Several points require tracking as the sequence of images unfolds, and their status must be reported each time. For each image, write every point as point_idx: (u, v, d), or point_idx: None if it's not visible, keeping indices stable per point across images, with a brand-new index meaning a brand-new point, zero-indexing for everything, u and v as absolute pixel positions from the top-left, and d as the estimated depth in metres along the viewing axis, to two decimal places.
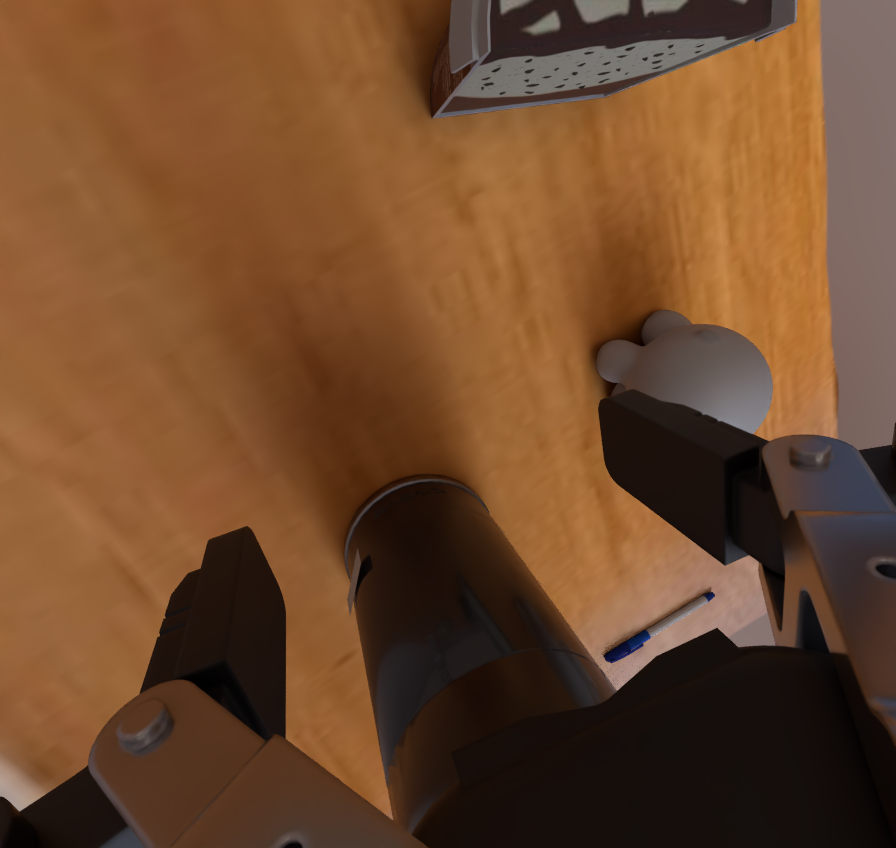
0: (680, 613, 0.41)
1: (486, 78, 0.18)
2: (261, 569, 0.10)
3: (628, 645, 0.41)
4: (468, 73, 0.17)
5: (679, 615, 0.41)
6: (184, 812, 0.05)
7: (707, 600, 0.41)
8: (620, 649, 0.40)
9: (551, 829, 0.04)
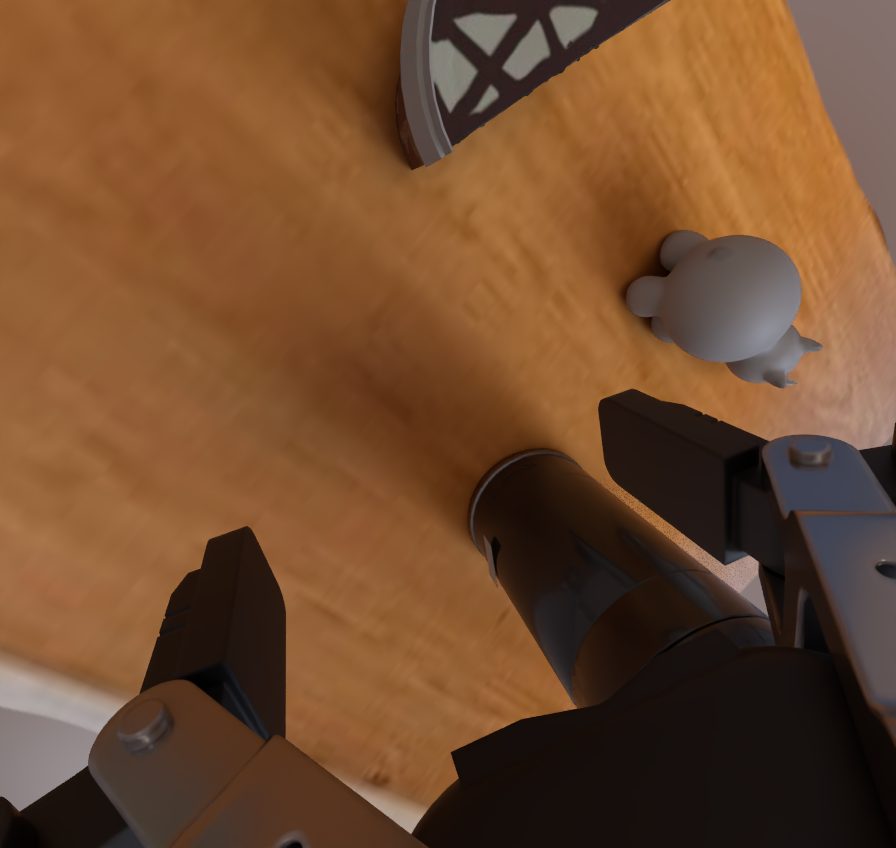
0: None
1: None
2: (261, 569, 0.10)
3: None
4: None
5: None
6: (184, 812, 0.05)
7: None
8: None
9: (551, 829, 0.04)
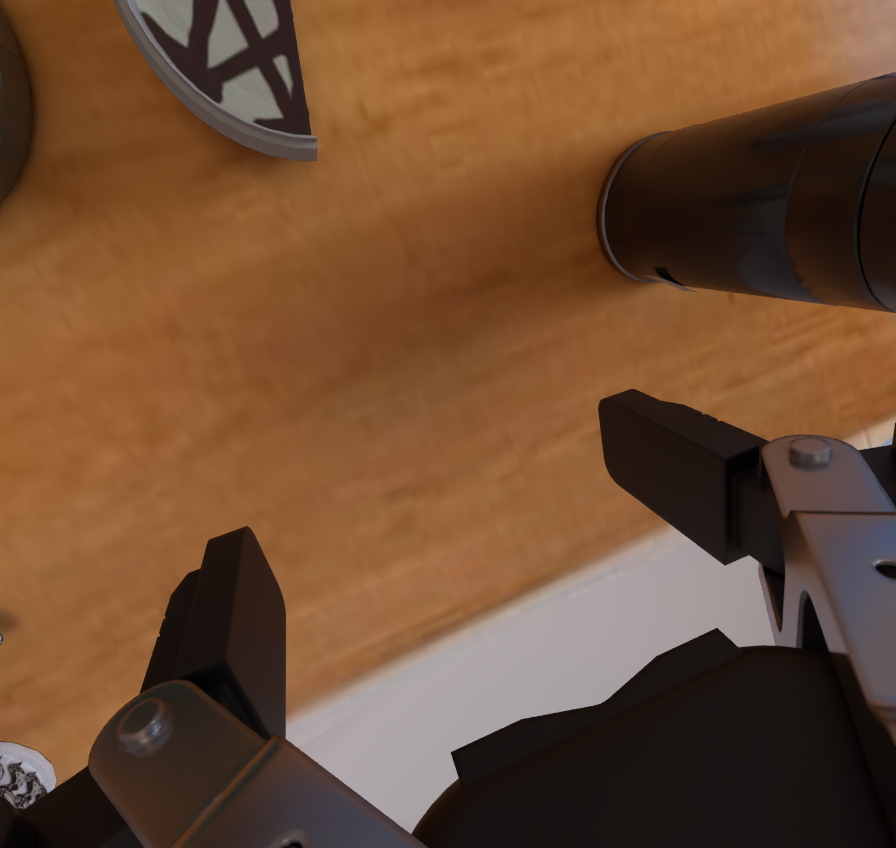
0: None
1: None
2: (261, 569, 0.10)
3: None
4: None
5: None
6: (184, 812, 0.05)
7: None
8: None
9: (551, 829, 0.04)
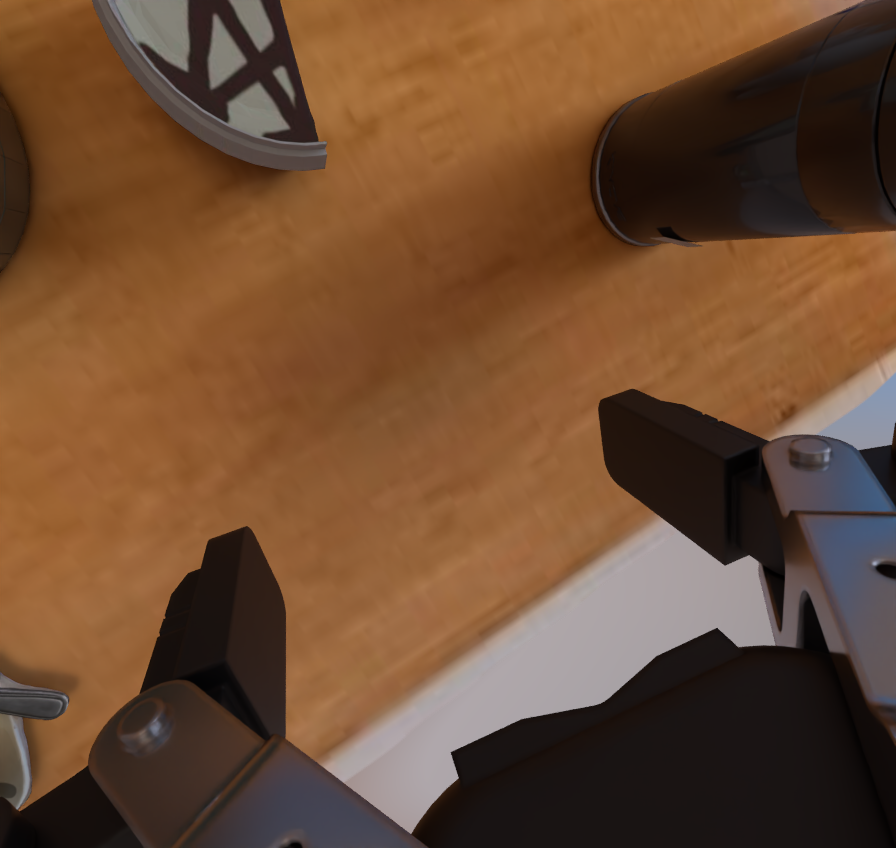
0: None
1: None
2: (261, 569, 0.10)
3: None
4: None
5: None
6: (184, 812, 0.05)
7: None
8: None
9: (551, 829, 0.04)
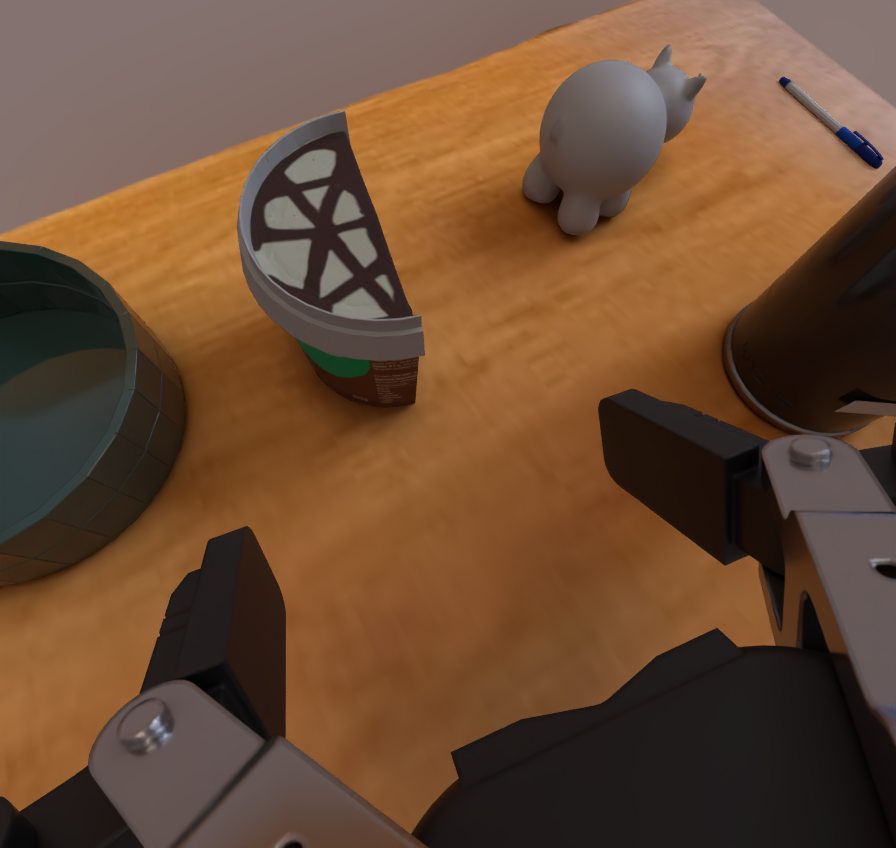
0: (810, 104, 0.39)
1: None
2: (261, 569, 0.10)
3: (857, 146, 0.38)
4: None
5: (812, 104, 0.39)
6: (184, 812, 0.05)
7: (790, 82, 0.40)
8: (864, 153, 0.38)
9: (551, 829, 0.04)
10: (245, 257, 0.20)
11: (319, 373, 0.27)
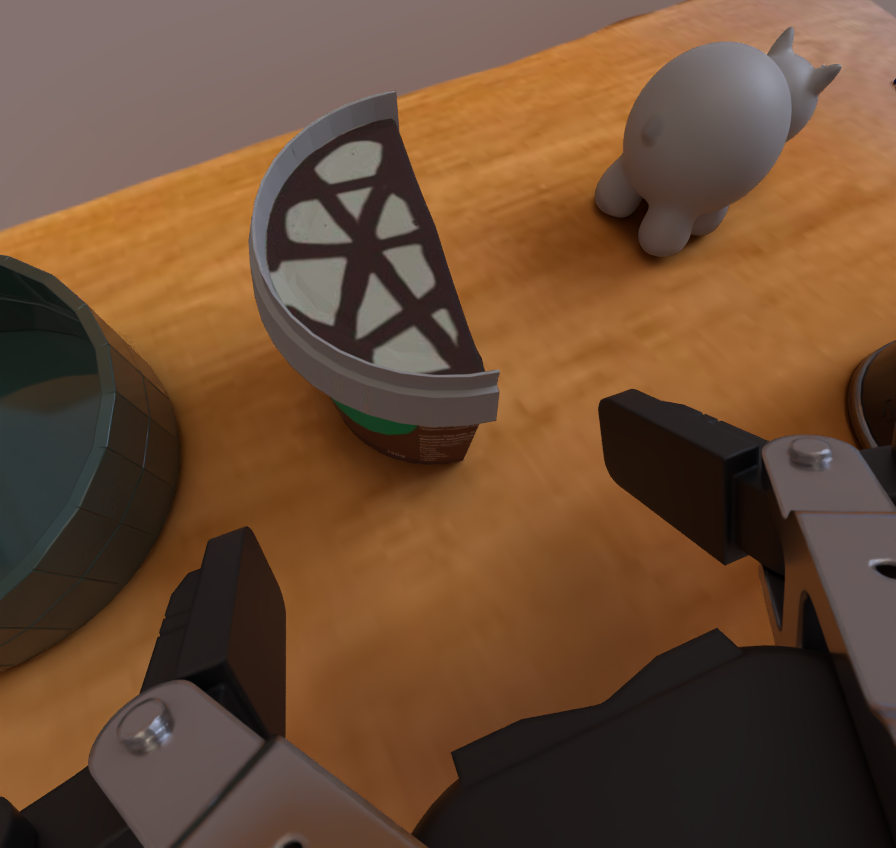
0: None
1: None
2: (261, 569, 0.10)
3: None
4: None
5: None
6: (184, 813, 0.05)
7: None
8: None
9: (551, 829, 0.04)
10: (257, 280, 0.15)
11: (346, 421, 0.22)
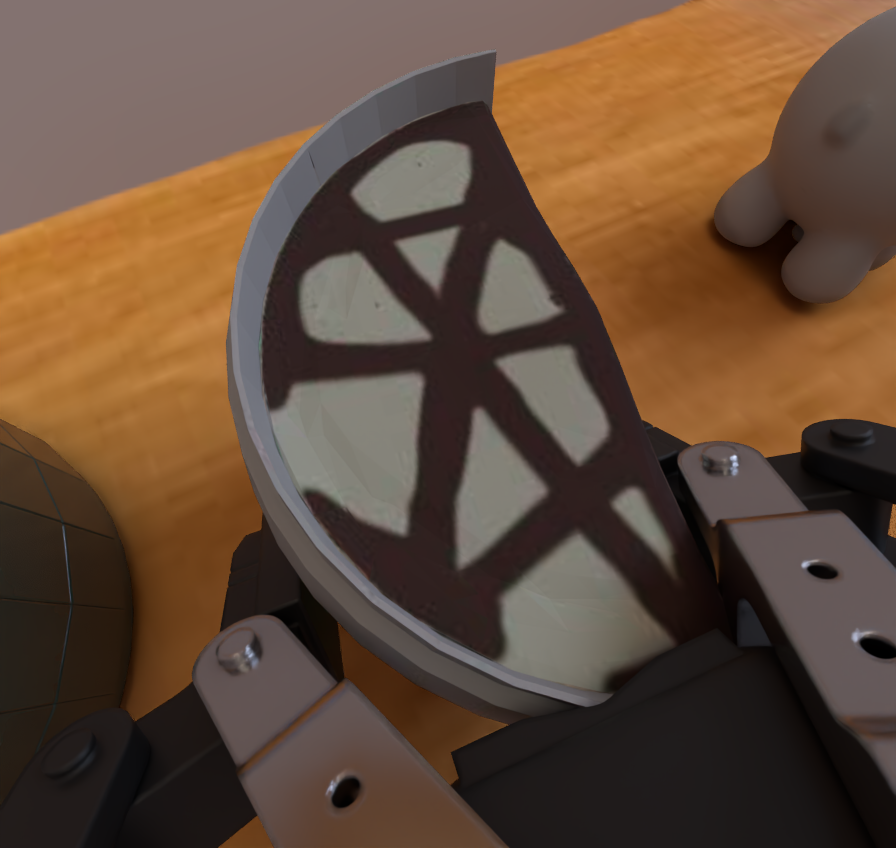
0: None
1: None
2: None
3: None
4: None
5: None
6: (264, 731, 0.05)
7: None
8: None
9: (551, 829, 0.04)
10: (243, 434, 0.07)
11: None
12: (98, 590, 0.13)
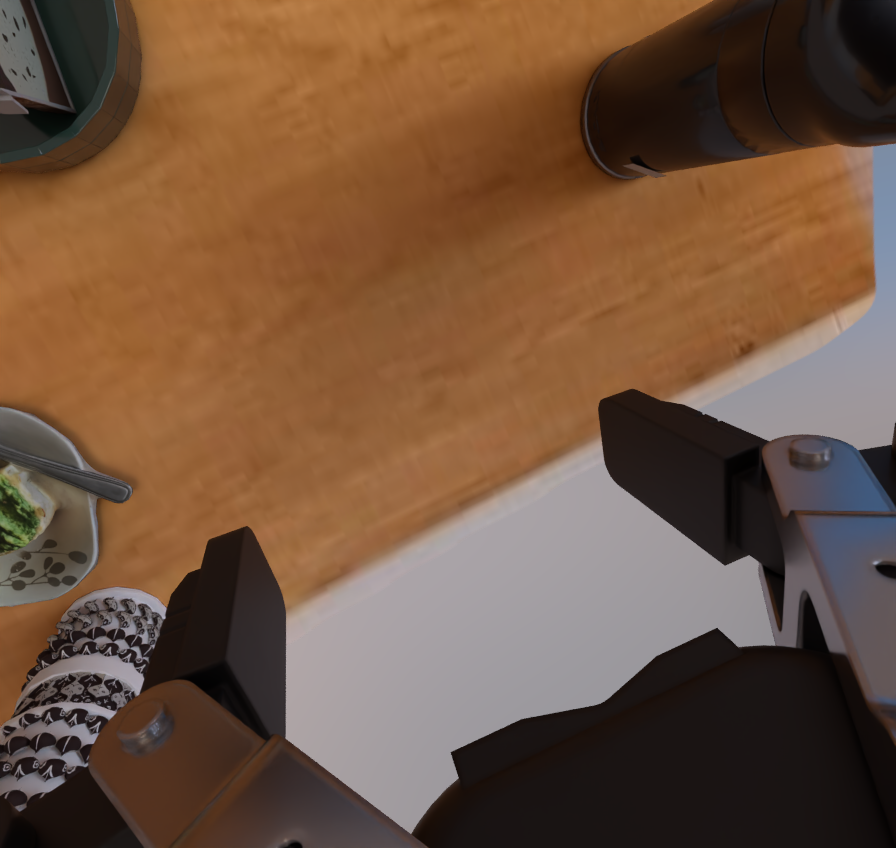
0: None
1: (24, 77, 0.25)
2: (261, 569, 0.10)
3: None
4: (24, 98, 0.24)
5: None
6: (184, 812, 0.05)
7: None
8: None
9: (552, 829, 0.04)
10: None
11: None
12: None
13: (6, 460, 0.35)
